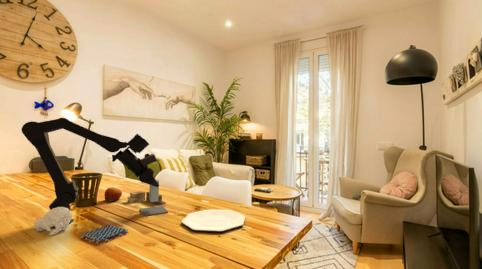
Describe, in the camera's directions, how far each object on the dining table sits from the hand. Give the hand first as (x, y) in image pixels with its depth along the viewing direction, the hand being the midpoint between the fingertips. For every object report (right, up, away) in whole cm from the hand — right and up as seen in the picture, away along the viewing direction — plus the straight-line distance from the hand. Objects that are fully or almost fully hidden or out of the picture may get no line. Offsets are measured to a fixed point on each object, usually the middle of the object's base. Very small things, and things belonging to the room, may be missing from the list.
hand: (157, 185), depth 104 cm
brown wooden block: (-6, -12, +14) cm, 19 cm away
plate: (+27, -12, -12) cm, 32 cm away
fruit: (-29, -12, +16) cm, 35 cm away
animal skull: (-28, -11, -24) cm, 39 cm away
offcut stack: (-16, -12, +16) cm, 26 cm away
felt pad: (-1, -11, -1) cm, 12 cm away
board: (-1, -7, -1) cm, 7 cm away
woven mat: (-7, -12, -27) cm, 30 cm away
